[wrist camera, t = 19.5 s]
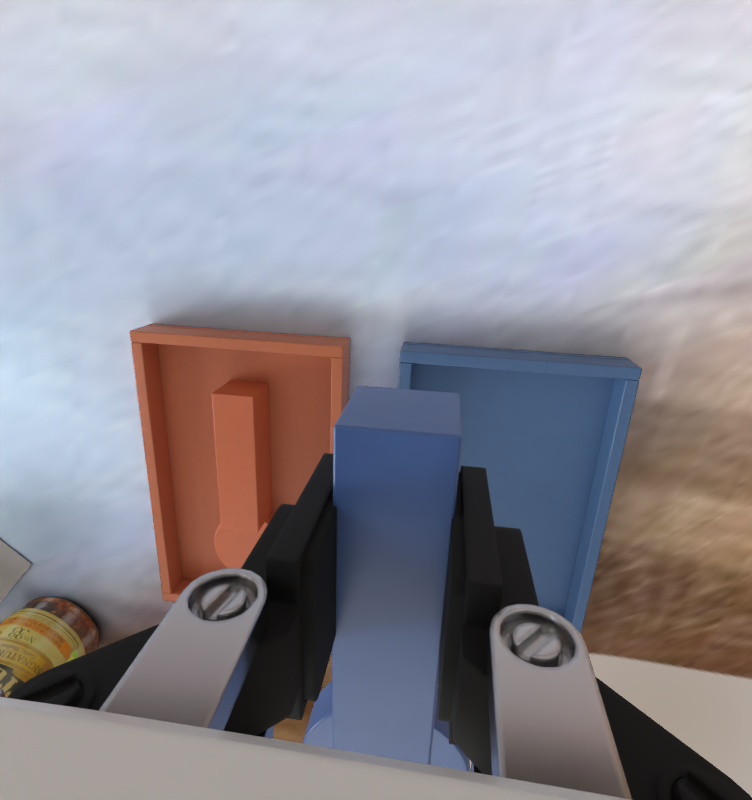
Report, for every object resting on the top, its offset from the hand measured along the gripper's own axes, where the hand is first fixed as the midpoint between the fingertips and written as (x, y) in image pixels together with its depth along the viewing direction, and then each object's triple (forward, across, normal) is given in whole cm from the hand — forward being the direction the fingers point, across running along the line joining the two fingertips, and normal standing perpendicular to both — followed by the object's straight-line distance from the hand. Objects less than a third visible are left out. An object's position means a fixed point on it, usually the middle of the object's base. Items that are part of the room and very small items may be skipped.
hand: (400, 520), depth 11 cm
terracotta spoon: (+15, +10, +8) cm, 20 cm away
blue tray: (+16, -4, +8) cm, 18 cm away
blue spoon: (0, 0, +3) cm, 3 cm away
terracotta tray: (+16, +10, +8) cm, 20 cm away
